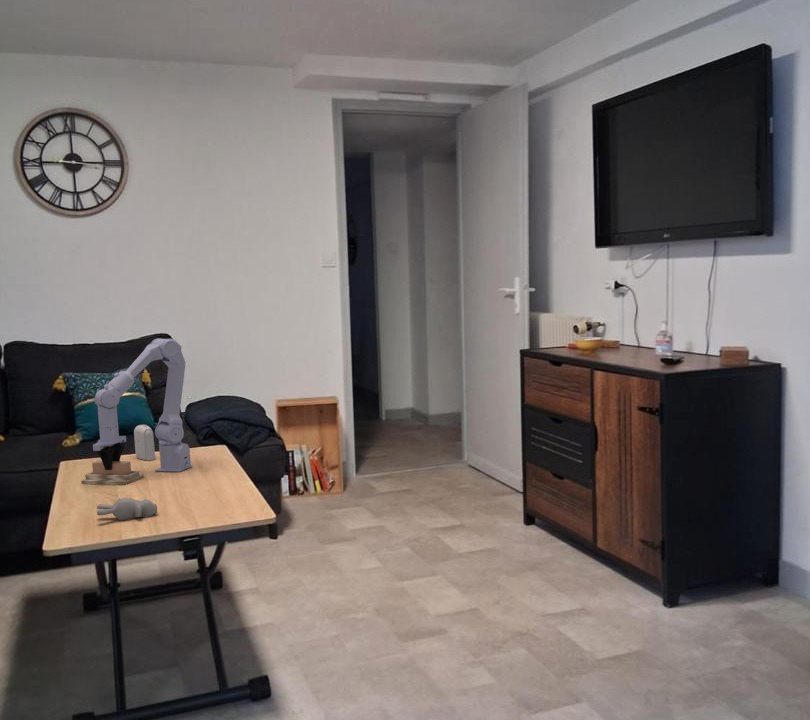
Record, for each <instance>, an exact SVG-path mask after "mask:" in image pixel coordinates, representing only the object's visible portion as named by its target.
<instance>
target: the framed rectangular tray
mask: <svg viewBox="0 0 810 720" xmlns="http://www.w3.org/2000/svg"><path fill="white" fill-rule="evenodd" d="M84 477H85V479H82V480H80V482H81V484H82V483H83V484H82V485H107V486H112V485H113V486H126V484H127V485H128V484H132V483H134V482H136V481H138V480H141V479H143V478H144V474H142V473H141V474H140V470H131V474H129V475H94V474H93V471H91V472H88V473H86V474H85V476H84ZM131 482H132V483H131Z"/></svg>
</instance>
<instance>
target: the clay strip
mask: <svg viewBox="0 0 810 720" xmlns="http://www.w3.org/2000/svg"><path fill="white" fill-rule="evenodd" d="M91 464H92V472H93V474H94V475H129V474H131V471H132V465H131V461H128V460H127V461H122V460H120V461H112V470H105V468H104V465H103V462H102V460H97V461H94V462H92V463H91Z"/></svg>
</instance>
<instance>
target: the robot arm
mask: <svg viewBox="0 0 810 720" xmlns="http://www.w3.org/2000/svg"><path fill="white" fill-rule="evenodd" d="M158 360H161V361H162V362H163V363H164V364H165V366H166V367H167V368H168V369H167V376H166V387H165V396H164V402H163V410H162V414H161V416H160V417H159V418H158V423H157V425H156V427H155V429H154V435H155V437H156V438H157V439H158V448H159V461H160V462H159V463H160V467H159V468H156V469H155V472H182V471H185V470H187V469H189V468H191V467H193V465H192V463H191V462H192V461H191V450H190V449H191V448H190V446H189V444H188V443H185V442H182V440H183V438H184V436H185V431H184V428H183V423H184V422H183V420H182V418H181V416H180V415H181V414H180V413H181V404H182V396H183V389H184V388H183V387H184V381H185V371H186V360H185V358H184V355H183V352H182V345H180V343H178V341H176V340H175V339H173V338H161V337H158V338H154V339H153V340H152V341H151V342H150V343H149V344H147V345H146V347H145V348H144V350H143V351H142V352H141V353H140V354H139V356H137V358H136V359H135V360H134V361H133V362H132V364H130V365H129V367H128V368H127V369H126V370H124V371H123V370H121V371H119V372H115V373H114V375H113V376H114V377H113V378H112V379H111V380H110V381H109V382H108V383H105V384H104V386H103V387H104V388H103V389H99V390H98V391H97V392H96V393H95V396H94V398H93V402H94V404H95V405H96V406H97V416H98V425H99V426H98V427H99V428H98V429H99V439H98V440H97V442H96V443H93V444H92V450H93V452H96V454H97V455H98V456H99V458H100V461H102V462H103V465H104V468H105V470H112V461H121V457H122V453H123V450H124V448H125V444H122V443H126V442H127V436H126V435H120V433H119V430H120V429H119V422H118V407H117V405H119V403H120V400H121V399H120V398H121V397H122V396H123V395H124V394H125V393H126V392H127V391H129V389H130V388H131V387H132V386H133V385H134V383H135V378H136V377H137V375H138V374H140V373H141V372H142V371H143V370H144V369H145V368H147V366H148V365H150V363H152V362H153V361H158Z"/></svg>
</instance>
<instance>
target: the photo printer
mask: <svg viewBox="0 0 810 720" xmlns="http://www.w3.org/2000/svg"><path fill="white" fill-rule="evenodd" d="M133 436H134V437H133V438H134V451H135V457H136V458H137V459H139V460H143V461H154V460H155V459H156V452H155V441H154V438H155V437H154V431H153V429H152V428H151V427H150V426H149V425H147V424H139V425H137V426H136V427H135V428H134V429H133Z"/></svg>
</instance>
